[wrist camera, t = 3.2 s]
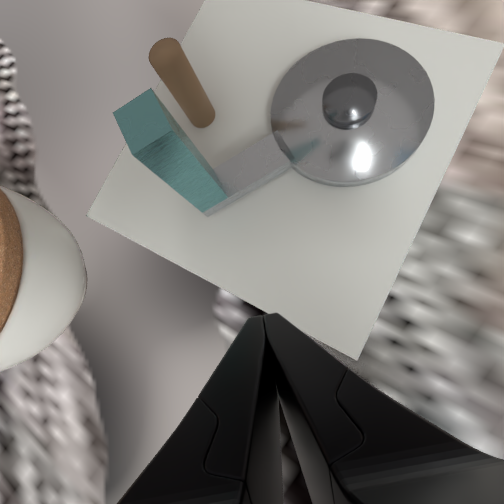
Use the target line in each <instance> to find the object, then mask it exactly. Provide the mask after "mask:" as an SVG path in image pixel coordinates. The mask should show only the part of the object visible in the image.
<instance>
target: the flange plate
mask: <svg viewBox="0 0 504 504" xmlns="http://www.w3.org/2000/svg"><path fill="white" fill-rule="evenodd" d="M434 104H435V98H434V92H433V87H432V84H431V81H430V79H429V77H428V75H427V73H426V71H425V70H424V68H423V67H422V66H421V64H420V63H419V62H418V61H417V60H416V59H415V58H414V57H413V56H412V55H410V54H409V53H408V52H406V51H405V50H403V49H401V48H399V47H397V46H395V45H393V44H390V43H387V42H384V41H380V40H374V39H364V38H356V39H346V40H341V41H336V42H333V43H329V44H326V45H324V46H322V47H319V48H317V49H315V50H314V51H312V52H310V53H308V54H307V55H305V56H304V57H303V58H301V59H300V60H299V61H298V62H296V63H295V64H294V65H293V66H292V67H291V68H290V69H289V71H288V72H287V73H286V74H285V76H284V77H283V78H282V80H281V82H280V83H279V85H278V87H277V89H276V92H275V94H274V97H273V101H272V105H271V113H270V117H271V127H272V132H273V133H272V134H270V135H268V136H267V137H265V138H263V139H262V140H260V141H258V142H257V143H255V144H254V145H252V146H250V147H249V148H247V149H245V150H244V151H242V152H240V153H239V154H237V155H235V156H234V157H232V158H230V159H229V160H227V161H225V162H224V163H222V164H220V165H219V166H217V167H215V168H214V169H212V167H211V166H210V165H209V163H208V162H207V161H206V159H205V158H204V157H203V156H202V154H201V153H200V152H199V150H198V149H197V148H196V146H195V145H194V144H193V142H192V141H191V140H190V138H189V137H188V136H187V135H186V133H185V132H184V131H183V129H182V128H181V127H180V125H179V124H178V123H177V121H176V120H175V119H174V118H173V116H172V115H171V114H170V112H169V111H168V110H167V108H166V107H165V106H164V104H163V103H162V102H161V100H160V99H159V98H158V97H157V95H156V94H155V93H154V91H153V90H152V89H151V88H150V89H149V90H147V91H146V92H144V93H142V94H141V95H139V96H138V97H136V98H135V99H133V100H132V101H130V102H129V103H127V104H126V105H124V106H123V107H121V108H119V109H118V110H116V111H115V112H113V114H114V116H115V118H116V121H117V123H118V125H119V127H120V129H121V132H122V134H123V136H124V138H125V140H126V143H127V145H128V147H129V149H130V151H131V154H132V155H133V156H134V157H135V158H136V159H138V160H139V161H140V162H141V163H142V164H144V165H145V166H146V167H147V168H148V169H150V170H151V171H152V172H153V173H155V174H156V175H157V176H158V177H159V178H161V179H162V180H163V181H164V182H165V183H167V184H168V185H169V186H170V187H171V188H173V189H174V190H175V191H176V192H178V193H179V194H180V195H181V196H182V197H184V198H185V199H186V200H187V201H188V202H190V203H191V204H192V205H193V206H195V207H196V208H197V209H198V210H199V211H201V212H202V213H203V214H204V215H205V216H207V217H209V216H211V215H212V214H214V213H216V212H217V211H219V210H221V209H223V208H224V207H226V206H228V205H229V204H231V203H233V202H234V201H236V200H238V199H240V198H241V197H243V196H245V195H246V194H248V193H250V192H251V191H253V190H255V189H257V188H258V187H260V186H262V185H263V184H265V183H267V182H268V181H270V180H272V179H274V178H275V177H277V176H279V175H280V174H282V173H284V172H285V171H287V170H289V169H291V168H292V169H294V170H295V171H296V172H297V173H299V174H300V175H302V176H304V177H305V178H307V179H309V180H311V181H314V182H316V183H319V184H323V185H327V186H334V187H354V186H361V185H365V184H370V183H372V182H375V181H378V180H381V179H383V178H385V177H387V176H389V175H390V174H392V173H394V172H395V171H397V170H398V169H399V168H401V167H402V166H403V165H404V164H405V163H406V162H407V161H408V160H409V159H410V158H411V157H412V156H413V155H414V154H415V152H416V151H417V149H418V148H419V146H420V145H421V143H422V141H423V140H424V138H425V136H426V134H427V132H428V130H429V128H430V125H431V122H432V119H433V114H434Z"/></svg>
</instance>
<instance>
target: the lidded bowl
mask: <svg viewBox="0 0 504 504" xmlns="http://www.w3.org/2000/svg"><path fill="white" fill-rule="evenodd" d="M86 289H87V273H86V268H85V264H84V259H83V256H82V252H81V250H80V248H79V245H78V243H77V241H76V240H75V238H74V237H73V235H72V234H71V232H70V230H69V229H68V228H66V226H65V225H64V224H63V223H62V222H61V221H60V220H59V219H58V218H57V217H56V216H55V215H53V214H52V213H50V212H49V211H48V210H46V209H45V208H43V207H42V206H40V205H39V204H38V203H36V202H34V201H32V200H31V199H29V198H27V197H25V196H23V195H21V194H19V193H17V192H14V191H12V190H10V189H8V188H5V187H3V186H0V372H2V371H4V370H6V369H9V368H11V367H13V366H16V365H18V364H20V363H22V362H25V361H27V360H29V359H30V358H32V357H33V356H35V355H36V354H38V353H39V352H41V351H43V350H44V349H46V348H47V347H48V346H49V345H51V344H52V343H53V342H54V341H55V340H56V339H57V338H58V337H59V336H60V335H61V334H62V333H63V332H64V331H65V329H66V328H67V327H68V326H69V324H70V323H71V321H72V320H73V318H74V316H75V314H76V313H77V312H78V310H79V308H80V307H81V304H82V302H83V300H84V297H85V294H86Z"/></svg>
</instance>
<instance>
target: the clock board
mask: <svg viewBox="0 0 504 504" xmlns="http://www.w3.org/2000/svg"><path fill="white" fill-rule="evenodd" d="M356 38H364V39H374V40H380V41H384V42H387V43H390V44H393V45H395V46H397V47H399V48H401V49H403V50H405V51H406V52H408V53H409V54H410V55H412V56H413V57H414V58H415V59H416V60H417V61H418V62H419V63H420V64H421V66H422V67H423V68H424V70H425V71H426V73H427V75H428V77H429V79H430V81H431V84H432V87H433V92H434V98H435V104H434V114H433V119H432V122H431V125H430V128H429V130H428V132H427V134H426V136H425V138H424V140H423V141H422V143H421V145H420V146H419V148H418V149H417V151H416V152H415V154H414V155H413V156H412V157H411V158H410V159H409V160H408V161H407V162H406V163H405V164H404V165H403V166H402V167H401V168H399V169H398V170H397V171H395V172H394V173H392V174H390V175H389V176H387V177H385V178H383V179H381V180H378V181H375V182H372V183H370V184H365V185H361V186H354V187H334V186H327V185H323V184H319V183H316V182H314V181H311V180H309V179H307V178H305V177H304V176H302V175H300V174H299V173H297V172H296V171H295V170H294V169H292V168H291V169H289V170H287V171H285V172H284V173H282V174H280V175H279V176H277V177H275V178H274V179H272V180H270V181H268V182H267V183H265V184H263V185H262V186H260V187H258V188H257V189H255V190H253V191H251V192H250V193H248V194H246V195H245V196H243V197H241V198H240V199H238V200H236V201H234V202H233V203H231V204H229V205H228V206H226V207H224V208H223V209H221V210H219V211H217V212H216V213H214V214H212V215H211V216H209V217H207V216H205V215H204V214H203V213H202V212H201V211H199V210H198V209H197V208H196V207H195V206H193V205H192V204H191V203H190V202H188V201H187V200H186V199H185V198H184V197H182V196H181V195H180V194H179V193H178V192H176V191H175V190H174V189H173V188H171V187H170V186H169V185H168V184H167V183H165V182H164V181H163V180H162V179H161V178H159V177H158V176H157V175H156V174H155V173H153V172H152V171H151V170H150V169H148V168H147V167H146V166H145V165H144V164H142V163H141V162H140V161H139V160H138V159H136V158H135V157H134V156H133V155H132V154H131V151H130V149H129V147H128V145H127V143H126V144H125V146H124V148H123V149H122V151H121V153H120V155H119V157H118V159H117V160H116V162H115V164H114V166H113V168H112V170H111V171H110V173H109V175H108V177H107V178H106V180H105V182H104V184H103V186H102V188H101V189H100V191H99V193H98V195H97V197H96V198H95V200H94V202H93V204H92V206H91V207H90V209H89V211H88V213H87V215H86V216H87V217H89V218H91V219H93V220H95V221H97V222H98V223H100V224H102V225H104V226H106V227H108V228H110V229H112V230H113V231H115V232H117V233H119V234H121V235H123V236H125V237H126V238H128V239H130V240H132V241H134V242H136V243H138V244H140V245H141V246H143V247H145V248H147V249H149V250H151V251H153V252H155V253H156V254H158V255H160V256H162V257H164V258H166V259H168V260H169V261H171V262H173V263H175V264H177V265H179V266H181V267H183V268H184V269H186V270H188V271H190V272H192V273H194V274H196V275H198V276H200V277H201V278H203V279H205V280H207V281H209V282H211V283H213V284H214V285H216V286H218V287H220V288H222V289H224V290H226V291H227V292H229V293H231V294H233V295H235V296H237V297H239V298H241V299H242V300H244V301H246V302H248V303H250V304H252V305H254V306H256V307H257V308H259V309H261V310H263V311H265V312H267V313H269V314H271V313H279V314H280V315H282V316H283V317H284V318H285V319H287V320H288V321H289V322H291V323H292V324H293V325H294V326H296V327H297V328H298V329H300V330H301V331H302V332H304V333H306V334H308V335H310V336H312V337H313V338H315V339H317V340H319V341H321V342H323V343H325V344H327V345H328V346H330V347H332V348H334V349H336V350H338V351H340V352H342V353H343V354H345V355H347V356H349V357H351V358H353V359H355V360H358V358H359V356H360V354H361V352H362V350H363V347H364V345H365V343H366V341H367V339H368V337H369V335H370V332H371V330H372V328H373V326H374V324H375V322H376V320H377V317H378V315H379V313H380V311H381V309H382V307H383V305H384V302H385V300H386V298H387V296H388V294H389V292H390V290H391V287H392V285H393V283H394V281H395V279H396V277H397V275H398V272H399V270H400V268H401V266H402V264H403V262H404V260H405V258H406V255H407V253H408V251H409V249H410V247H411V245H412V243H413V240H414V238H415V236H416V234H417V232H418V230H419V228H420V225H421V223H422V221H423V219H424V217H425V215H426V213H427V210H428V208H429V206H430V204H431V202H432V200H433V198H434V195H435V193H436V191H437V189H438V187H439V185H440V183H441V180H442V178H443V176H444V174H445V172H446V170H447V168H448V165H449V163H450V161H451V159H452V157H453V155H454V153H455V151H456V148H457V146H458V144H459V142H460V140H461V138H462V136H463V133H464V131H465V129H466V127H467V125H468V123H469V121H470V118H471V116H472V114H473V112H474V110H475V108H476V106H477V103H478V101H479V99H480V97H481V95H482V93H483V91H484V88H485V86H486V84H487V82H488V80H489V78H490V76H491V73H492V71H493V69H494V67H495V65H496V63H497V61H498V58H499V56H500V54H501V52H502V50H503V48H504V43H500V42H496V41H491V40H486V39H482V38H477V37H473V36H468V35H463V34H459V33H454V32H450V31H445V30H440V29H436V28H431V27H426V26H422V25H417V24H413V23H408V22H403V21H399V20H394V19H390V18H385V17H380V16H376V15H371V14H366V13H362V12H357V11H353V10H348V9H343V8H339V7H334V6H330V5H325V4H320V3H316V2H311V1H306V0H205V1H204V3H203V5H202V6H201V9H200V10H199V12H198V14H197V15H196V17H195V19H194V21H193V23H192V24H191V26H190V28H189V30H188V32H187V34H186V35H185V37H184V39H183V41H182V43H181V44H179V42H178V41H177V40H175V39H173V38H164V39H161V40H159V41H158V42H156V43H155V44H154V45H153V47H152V48H151V50H150V53H149V61H150V63H151V65H152V66H153V68H154V69H155V71H156V72H157V74H158V75H159V77H160V78H161V81H160V83H159V84H158V86H157V88H156V90H155V92H154V93H155V94H156V95H157V97H158V98H159V99H160V100H161V102H162V103H163V104H164V106H165V107H166V108H167V110H168V111H169V112H170V114H171V115H172V116H173V118H174V119H175V120H176V121H177V123H178V124H179V125H180V127H181V128H182V129H183V131H184V132H185V133H186V135H187V136H188V137H189V138H190V140H191V141H192V142H193V144H194V145H195V146H196V148H197V149H198V150H199V152H200V153H201V154H202V156H203V157H204V158H205V159H206V161H207V162H208V163H209V165H210V166H211V167H212V169H214V168H215V167H217V166H219V165H220V164H222V163H224V162H225V161H227V160H229V159H230V158H232V157H234V156H235V155H237V154H239V153H240V152H242V151H244V150H245V149H247V148H249V147H250V146H252V145H254V144H255V143H257V142H258V141H260V140H262V139H263V138H265V137H267V136H268V135H270V134H272V133H273V132H272V127H271V117H270V113H271V105H272V101H273V97H274V94H275V92H276V89H277V87H278V85H279V83H280V82H281V80H282V78H283V77H284V76H285V74H286V73H287V72H288V71H289V69H290V68H291V67H292V66H293V65H294V64H295V63H296V62H298V61H299V60H300V59H301V58H303V57H304V56H305V55H307V54H308V53H310V52H312V51H314V50H315V49H317V48H319V47H322V46H324V45H326V44H329V43H333V42H336V41H341V40H346V39H356Z"/></svg>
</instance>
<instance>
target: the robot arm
mask: <svg viewBox="0 0 504 504" xmlns="http://www.w3.org/2000/svg"><path fill="white" fill-rule="evenodd" d="M276 385H277V386H276ZM277 390H278V393H277ZM278 395H279V399H280V402H281V406H282V409H283V412H284V415H285V418H286V421H287V424H288V428H289V431H290V434H291V437H292V440H293V443H294V446H295V450H296V453H297V456H298V459H299V462H300V465H301V468H302V472H303V475H304V478H305V481H306V484H307V487H308V490H309V494H310V497H311V500H312V503H313V504H504V460H503V459H499V458H496V457H493V456H491V455H488V454H485V453H483V452H481V451H479V450H477V449H475V448H473V447H471V446H469V445H467V444H465V443H464V442H462V441H460V440H458V439H457V438H455V437H454V436H452V435H450V434H449V433H447V432H445V431H444V430H442V429H441V428H439V427H437V426H436V425H434V424H432V423H431V422H429V421H427V420H426V419H424V418H423V417H421V416H419V415H418V414H416V413H414V412H413V411H411V410H409V409H408V408H406V407H405V406H403V405H401V404H400V403H398V402H397V401H395V400H393V399H392V398H390V397H389V396H387V395H386V394H384V393H383V392H381V391H380V390H378V389H377V388H375V387H374V386H373V385H371V384H370V383H368V382H367V381H366V380H364V379H363V378H362V377H360V376H359V375H358V374H356V373H355V372H354V371H352V370H351V369H349V368H348V367H347V366H346V365H345V364H343V363H342V362H341V361H339V360H338V359H337V358H336V357H334V356H333V355H332V354H330V353H329V352H328V351H327V350H325V349H324V348H323V347H321V346H320V345H319V344H318V343H316V342H315V341H314V340H312V339H311V338H310V337H309V336H307V335H306V334H305V333H303V332H302V331H301V330H300V329H298V328H297V327H296V326H294V325H293V324H292V323H291V322H289V321H288V320H287V319H285V318H284V317H283V316H282V315H280V314H279V313H271V314H266V315H264V318H263V316H256V317H250V318H248V320H247V321H246V323H245V324H244V326H243V327H242V329H241V330H240V332H239V334H238V335H237V337H236V338H235V340H234V341H233V343H232V344H231V346H230V348H229V349H228V351H227V352H226V354H225V355H224V357H223V358H222V360H221V362H220V363H219V365H218V366H217V368H216V369H215V371H214V372H213V374H212V375H211V377H210V379H209V380H208V382H207V383H206V385H205V386H204V388H203V389H202V391H201V393H200V394H199V396H198V398H197V399H196V400H195V402H194V403H193V405H192V406H191V408H190V409H189V411H188V412H187V414H186V415H185V417H184V418H183V420H182V421H181V422H180V424H179V425H178V427H177V428H176V430H175V431H174V432H173V434H172V435H171V436H170V437H169V439H168V440H167V441H166V443H165V444H164V445H163V447H162V448H161V449H160V450H159V452H158V453H157V454H156V455H155V457H154V458H153V459H152V461H151V462H150V463H149V464H148V465H147V467H146V468H145V469H144V470H143V472H142V473H141V474H140V475H139V477H138V478H137V479H136V480H135V482H134V483H133V484H132V485H131V487H130V488H129V489H128V490H127V492H126V493H125V494H124V495H123V497H122V498H121V499H120V500H119V502H118V503H117V504H284V497H283V478H282V459H281V440H280V420H279V403H278Z"/></svg>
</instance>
